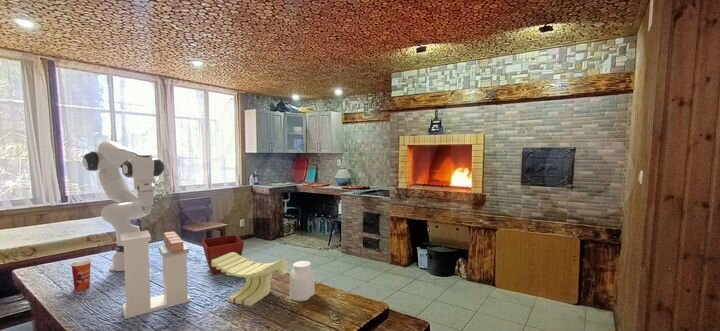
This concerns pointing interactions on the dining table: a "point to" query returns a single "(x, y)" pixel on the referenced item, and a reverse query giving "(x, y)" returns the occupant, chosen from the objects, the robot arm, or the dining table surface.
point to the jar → (301, 281)
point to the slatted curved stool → (249, 276)
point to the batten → (173, 242)
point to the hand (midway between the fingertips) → (145, 212)
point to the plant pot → (221, 248)
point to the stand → (140, 278)
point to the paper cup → (81, 274)
